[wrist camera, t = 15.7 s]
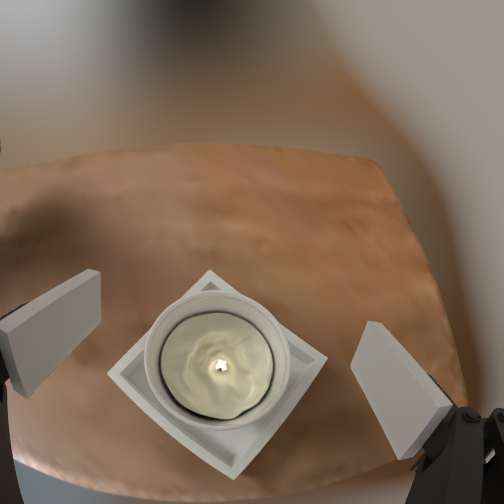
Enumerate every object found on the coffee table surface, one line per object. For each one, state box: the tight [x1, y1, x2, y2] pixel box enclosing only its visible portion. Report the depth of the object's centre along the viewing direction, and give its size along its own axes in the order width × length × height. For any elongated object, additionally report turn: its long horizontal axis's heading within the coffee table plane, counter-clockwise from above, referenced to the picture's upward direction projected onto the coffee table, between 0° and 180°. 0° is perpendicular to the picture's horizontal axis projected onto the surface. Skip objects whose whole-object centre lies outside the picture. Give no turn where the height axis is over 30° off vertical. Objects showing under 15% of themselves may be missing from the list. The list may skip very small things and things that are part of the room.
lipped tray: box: [107, 270, 328, 480], centre depth 26 cm, size 16×16×4 cm
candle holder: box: [144, 290, 291, 431], centre depth 22 cm, size 10×10×12 cm
